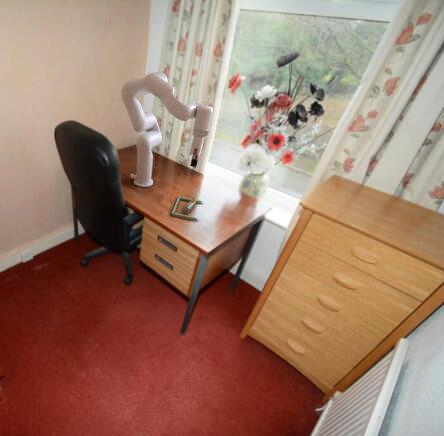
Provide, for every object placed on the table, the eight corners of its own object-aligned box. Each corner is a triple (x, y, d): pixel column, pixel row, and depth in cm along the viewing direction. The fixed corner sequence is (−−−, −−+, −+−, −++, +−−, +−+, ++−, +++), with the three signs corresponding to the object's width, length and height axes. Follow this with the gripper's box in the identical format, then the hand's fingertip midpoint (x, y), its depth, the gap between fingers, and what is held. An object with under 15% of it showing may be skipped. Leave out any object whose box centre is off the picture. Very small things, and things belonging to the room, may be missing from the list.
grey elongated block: (187, 214, 147) (188, 209, 144) (182, 212, 148) (184, 207, 145) (195, 204, 155) (197, 199, 152) (191, 202, 156) (193, 197, 153)
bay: (171, 215, 146) (171, 213, 145) (178, 198, 160) (178, 196, 159) (196, 221, 142) (196, 218, 141) (201, 203, 157) (201, 200, 156)
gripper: (195, 126, 142) (189, 159, 153) (190, 135, 131) (183, 170, 142) (209, 129, 141) (202, 162, 151) (205, 138, 129) (198, 173, 140)
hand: (193, 165), depth 147 cm, fingers closed
